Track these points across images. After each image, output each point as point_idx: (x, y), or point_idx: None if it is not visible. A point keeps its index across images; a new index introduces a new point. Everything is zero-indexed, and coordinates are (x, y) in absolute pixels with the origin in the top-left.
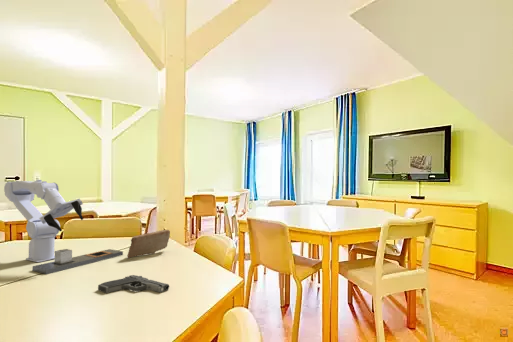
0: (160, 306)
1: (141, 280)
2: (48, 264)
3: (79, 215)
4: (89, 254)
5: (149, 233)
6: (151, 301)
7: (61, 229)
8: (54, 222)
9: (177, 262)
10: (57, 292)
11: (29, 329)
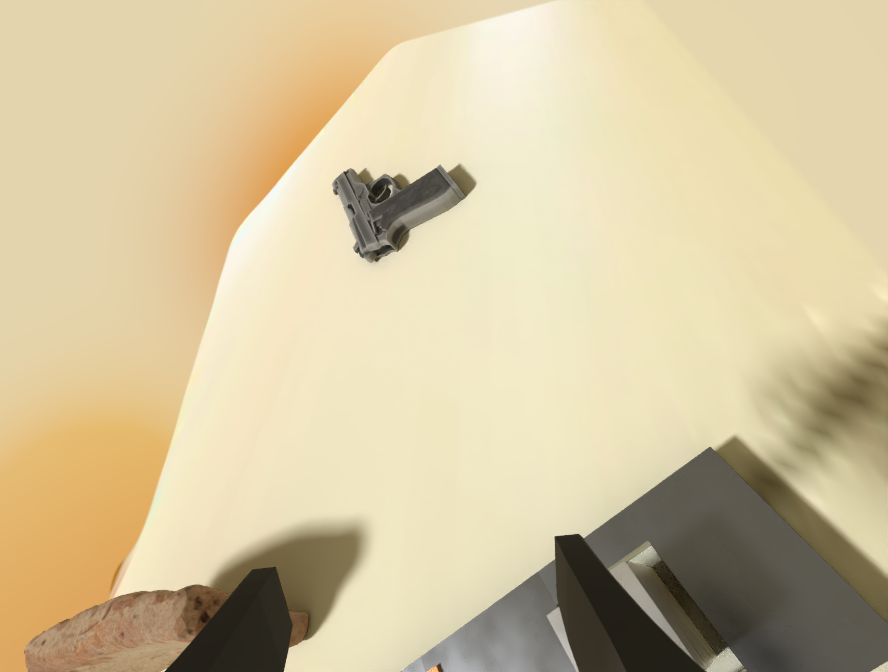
0: (378, 119)
1: (364, 203)
2: (756, 632)
3: (258, 580)
4: None
5: (107, 616)
6: (383, 137)
7: (556, 575)
8: (630, 627)
9: (231, 418)
10: (576, 186)
11: (587, 12)
